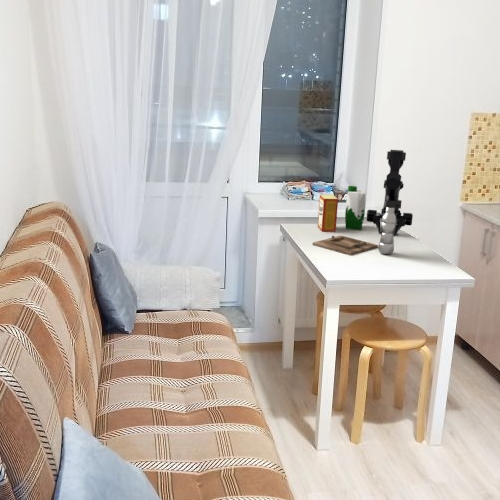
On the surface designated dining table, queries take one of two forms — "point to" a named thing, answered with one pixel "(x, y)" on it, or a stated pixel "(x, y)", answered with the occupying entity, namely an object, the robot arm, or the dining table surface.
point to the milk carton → (355, 208)
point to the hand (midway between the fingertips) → (387, 234)
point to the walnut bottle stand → (345, 245)
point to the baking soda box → (327, 213)
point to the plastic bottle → (387, 231)
